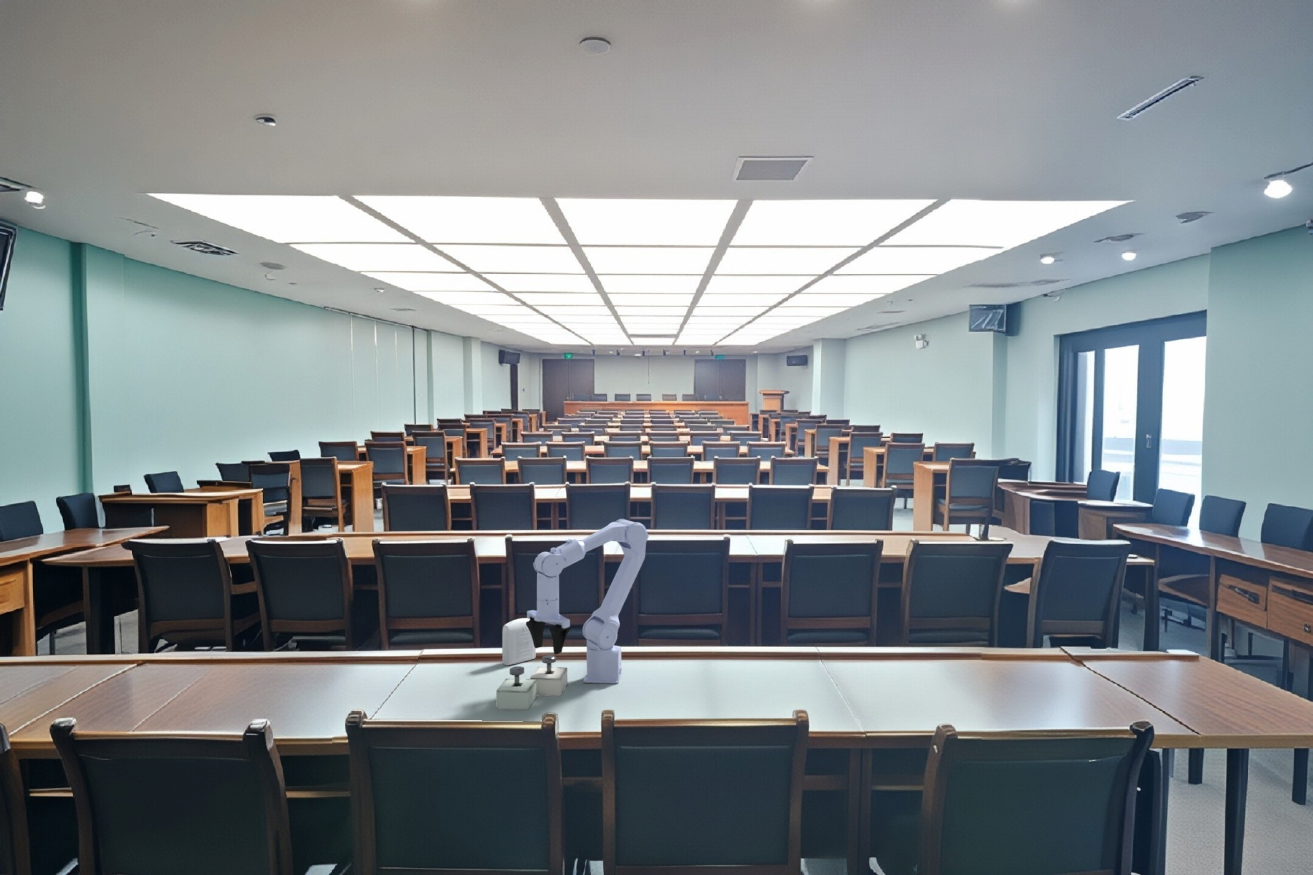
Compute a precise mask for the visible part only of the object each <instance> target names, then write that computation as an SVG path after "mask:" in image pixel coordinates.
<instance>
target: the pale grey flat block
mask: <svg viewBox="0 0 1313 875" xmlns="http://www.w3.org/2000/svg"><path fill="white" fill-rule="evenodd" d="M513 685H515V678H505V679H504V681H502V683H501V684H500V686H499V687H498V688H497V689H496V690H495V691H496V700H495V701H496V709H497V710H523V711H524V710H525V711H526V710H528V711H529V709H530V708H531V707H532V705H533V703H534V702H535V701H536V699H537V698H538V695H537V679H530V678H519V685H521V687H512V686H513Z"/></svg>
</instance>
